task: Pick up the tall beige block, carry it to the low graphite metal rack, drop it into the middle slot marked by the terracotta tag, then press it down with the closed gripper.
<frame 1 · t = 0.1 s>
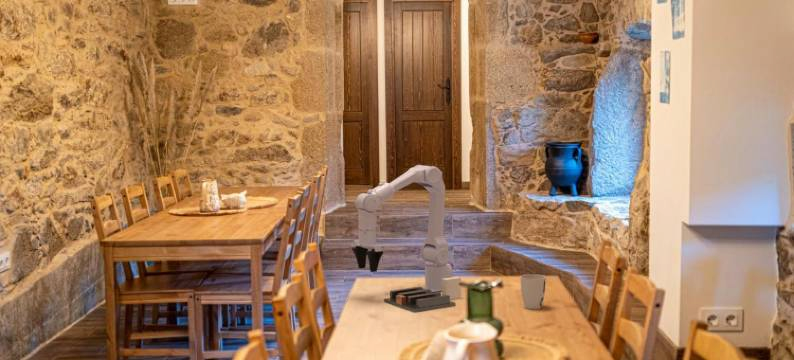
hand: (367, 269, 302), 10 cm above the table, fingers open, 7 cm apart
rack: (419, 303, 296), on the table
cup: (532, 308, 290), on the table
tall beige block: (451, 298, 303), on the table
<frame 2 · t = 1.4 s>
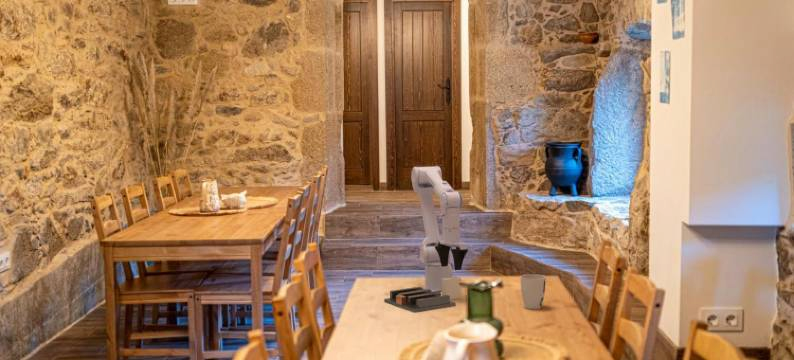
hand: (451, 268, 302), 10 cm above the table, fingers open, 7 cm apart
nothing on the table moved.
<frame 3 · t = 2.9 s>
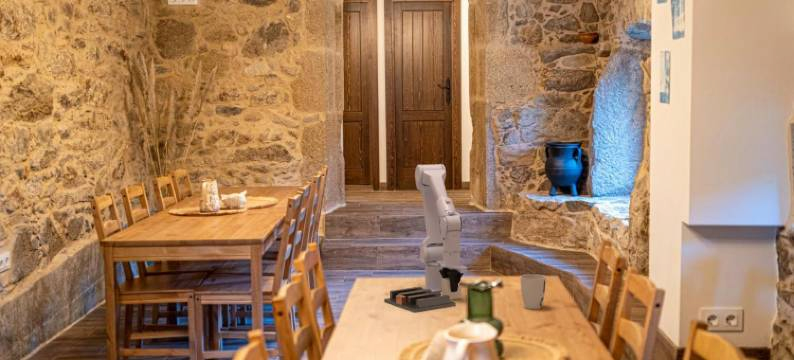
hand: (451, 291, 303), 3 cm above the table, fingers closed on tall beige block, 2 cm apart
tall beige block: (451, 298, 303), on the table, touching gripper
everything else where it was.
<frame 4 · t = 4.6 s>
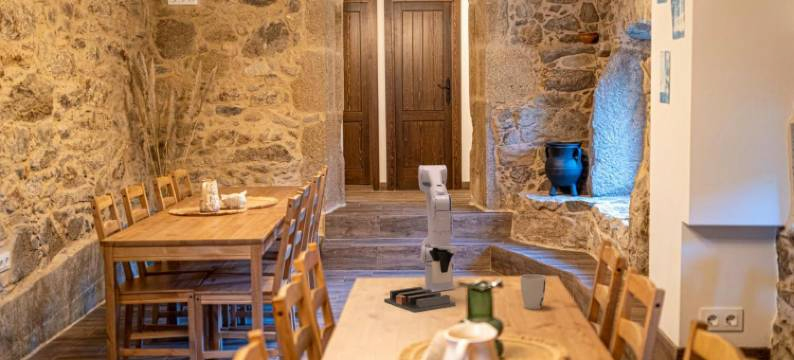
hand: (441, 271, 300), 10 cm above the table, fingers closed on tall beige block, 2 cm apart
tall beige block: (441, 281, 300), point 6 cm above the table, touching gripper
everything else where it was.
when the fingers open (5 cm above the table, at t = 6.3 s): tall beige block stays where it is, resting on rack.
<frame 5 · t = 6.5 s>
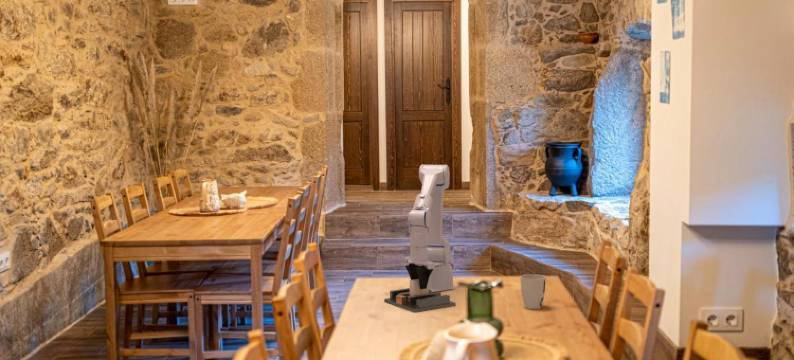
hand: (419, 287, 296), 5 cm above the table, fingers open, 4 cm apart
tall beige block: (419, 300, 296), point 1 cm above the table, touching rack
everything else where it was.
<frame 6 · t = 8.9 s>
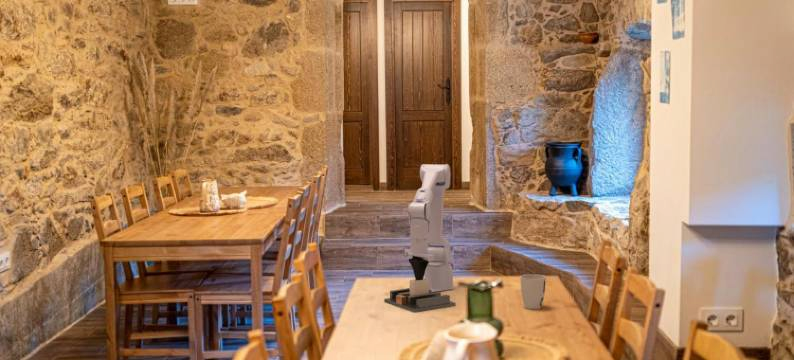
hand: (419, 280, 295), 8 cm above the table, fingers closed, pressing on tall beige block
tall beige block: (419, 300, 296), point 1 cm above the table, touching gripper, rack
everything else where it was.
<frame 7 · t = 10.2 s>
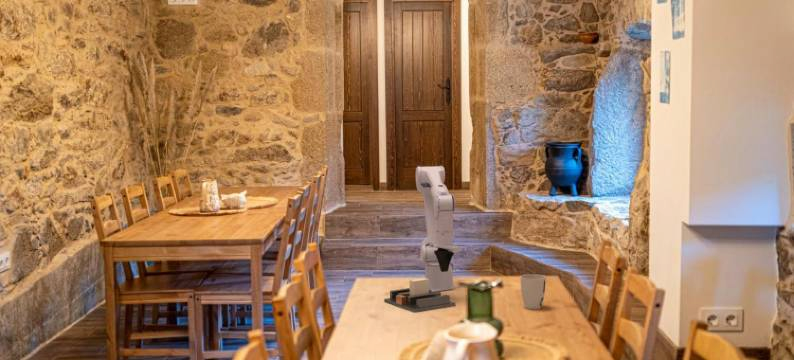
hand: (444, 271, 302), 9 cm above the table, fingers closed
tall beige block: (419, 300, 296), point 1 cm above the table, touching rack
everything else where it was.
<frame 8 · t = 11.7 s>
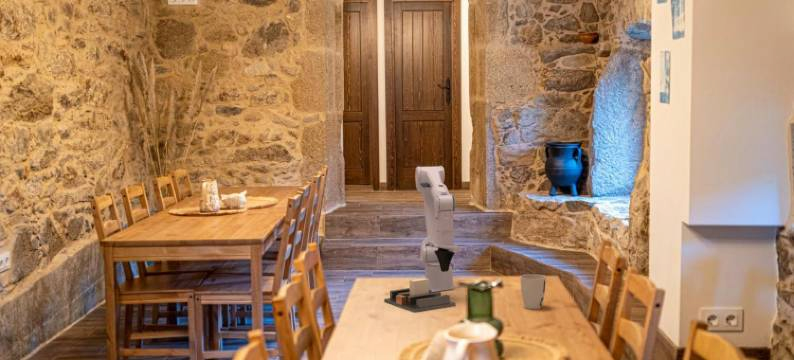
hand: (444, 271, 302), 9 cm above the table, fingers closed
nothing on the table moved.
at the end: tall beige block 0.0 cm off-centre on the rack, point 1.0 cm above the rack's base; tall beige block tilted 0°; the gripper is holding nothing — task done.
